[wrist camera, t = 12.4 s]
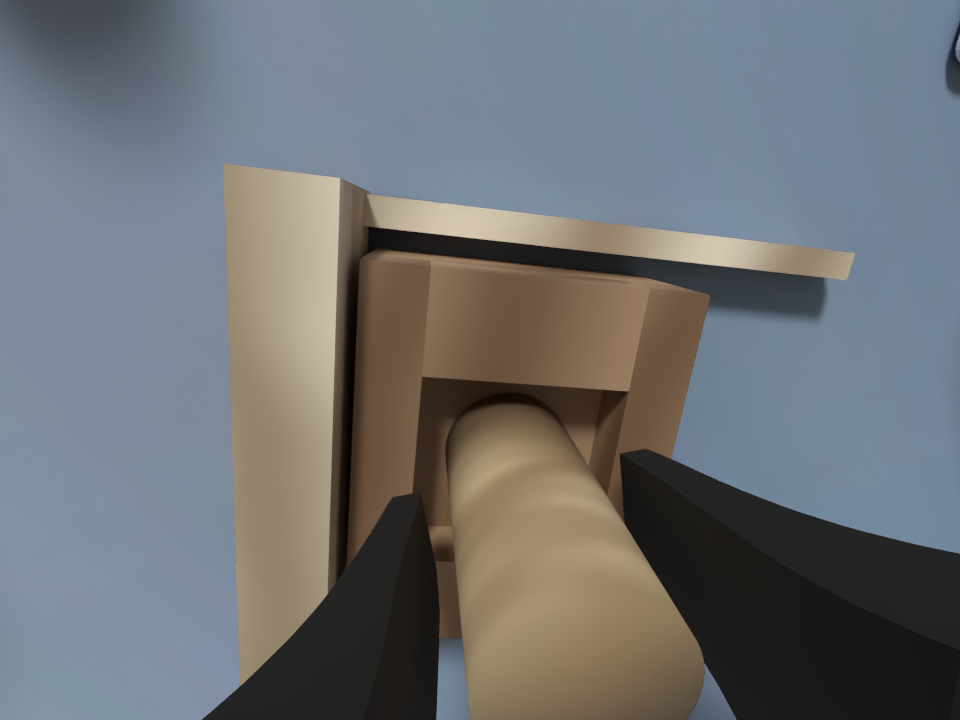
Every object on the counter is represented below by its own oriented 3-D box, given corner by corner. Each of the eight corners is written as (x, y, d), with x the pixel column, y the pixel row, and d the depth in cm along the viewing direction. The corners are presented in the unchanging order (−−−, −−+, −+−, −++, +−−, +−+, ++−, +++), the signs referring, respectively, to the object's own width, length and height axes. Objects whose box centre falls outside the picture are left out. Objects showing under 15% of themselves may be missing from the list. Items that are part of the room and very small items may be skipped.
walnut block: (638, 275, 15) (710, 294, 11) (583, 547, 18) (627, 638, 14) (377, 247, 14) (359, 258, 10) (362, 542, 17) (343, 638, 13)
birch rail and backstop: (824, 247, 15) (1002, 260, 11) (723, 583, 19) (824, 706, 14) (296, 183, 13) (222, 163, 8) (293, 576, 17) (240, 720, 12)
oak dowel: (561, 383, 13) (707, 580, 6) (569, 489, 14) (702, 750, 7) (435, 405, 13) (451, 632, 6) (454, 511, 14) (486, 798, 7)
